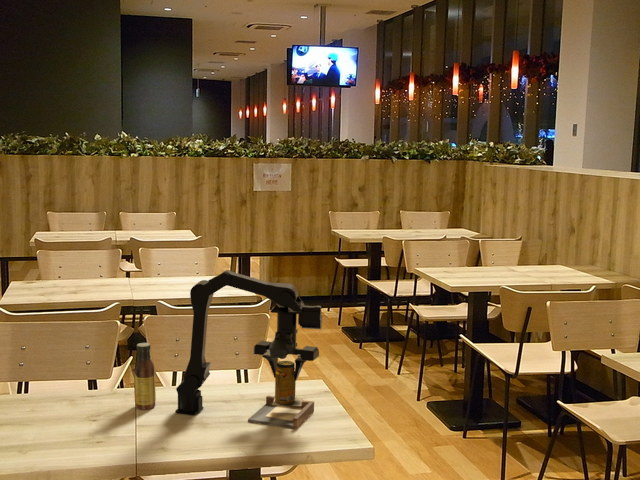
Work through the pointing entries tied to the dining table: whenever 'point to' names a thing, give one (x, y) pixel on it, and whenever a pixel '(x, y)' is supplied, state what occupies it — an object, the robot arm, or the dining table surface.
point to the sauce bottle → (144, 378)
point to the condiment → (285, 385)
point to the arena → (282, 414)
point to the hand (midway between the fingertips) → (285, 378)
